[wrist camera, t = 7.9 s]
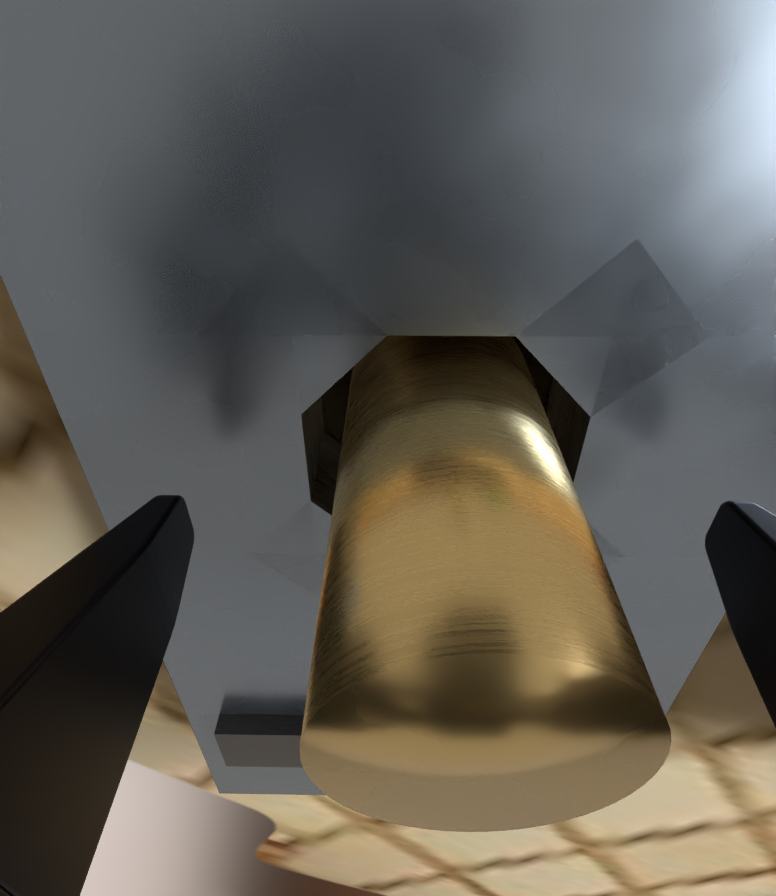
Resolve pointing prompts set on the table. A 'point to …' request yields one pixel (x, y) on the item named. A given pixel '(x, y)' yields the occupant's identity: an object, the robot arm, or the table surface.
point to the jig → (391, 282)
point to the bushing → (468, 609)
